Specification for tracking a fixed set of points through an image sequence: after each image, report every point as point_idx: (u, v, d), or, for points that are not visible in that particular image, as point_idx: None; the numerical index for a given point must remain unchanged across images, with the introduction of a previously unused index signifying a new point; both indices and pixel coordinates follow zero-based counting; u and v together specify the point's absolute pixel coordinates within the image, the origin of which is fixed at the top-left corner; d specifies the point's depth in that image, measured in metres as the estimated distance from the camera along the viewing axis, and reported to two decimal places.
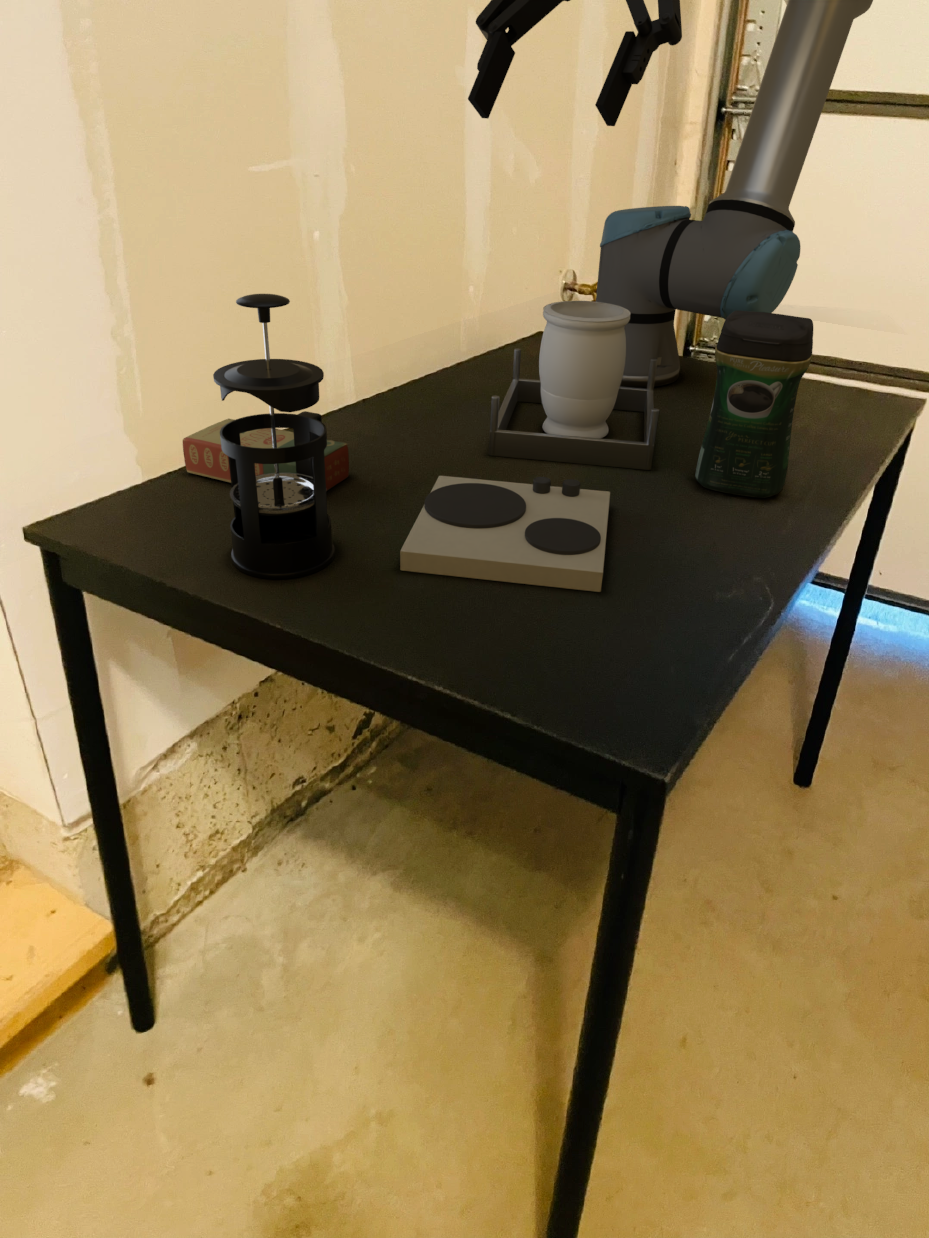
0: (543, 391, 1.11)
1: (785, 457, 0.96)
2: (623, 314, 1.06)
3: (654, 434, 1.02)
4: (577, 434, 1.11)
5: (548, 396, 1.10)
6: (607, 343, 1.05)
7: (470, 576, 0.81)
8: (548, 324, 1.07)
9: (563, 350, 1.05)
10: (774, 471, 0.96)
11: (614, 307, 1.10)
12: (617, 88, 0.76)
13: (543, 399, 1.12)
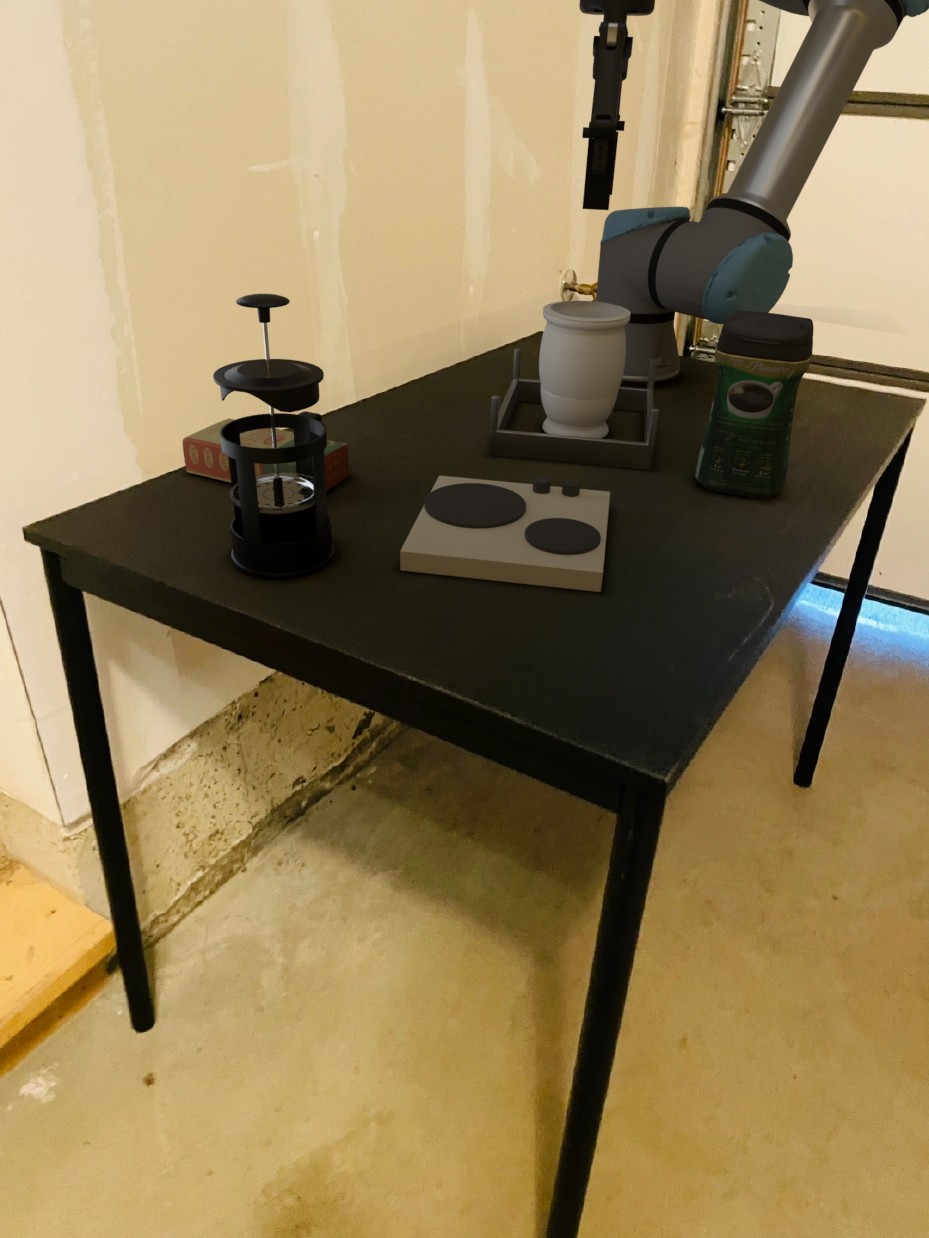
0: (543, 391, 1.11)
1: (785, 457, 0.96)
2: (623, 314, 1.06)
3: (654, 434, 1.02)
4: (577, 434, 1.11)
5: (548, 396, 1.10)
6: (607, 343, 1.05)
7: (470, 576, 0.81)
8: (548, 324, 1.07)
9: (563, 350, 1.05)
10: (774, 471, 0.96)
11: (614, 307, 1.10)
12: (594, 186, 0.94)
13: (543, 399, 1.12)
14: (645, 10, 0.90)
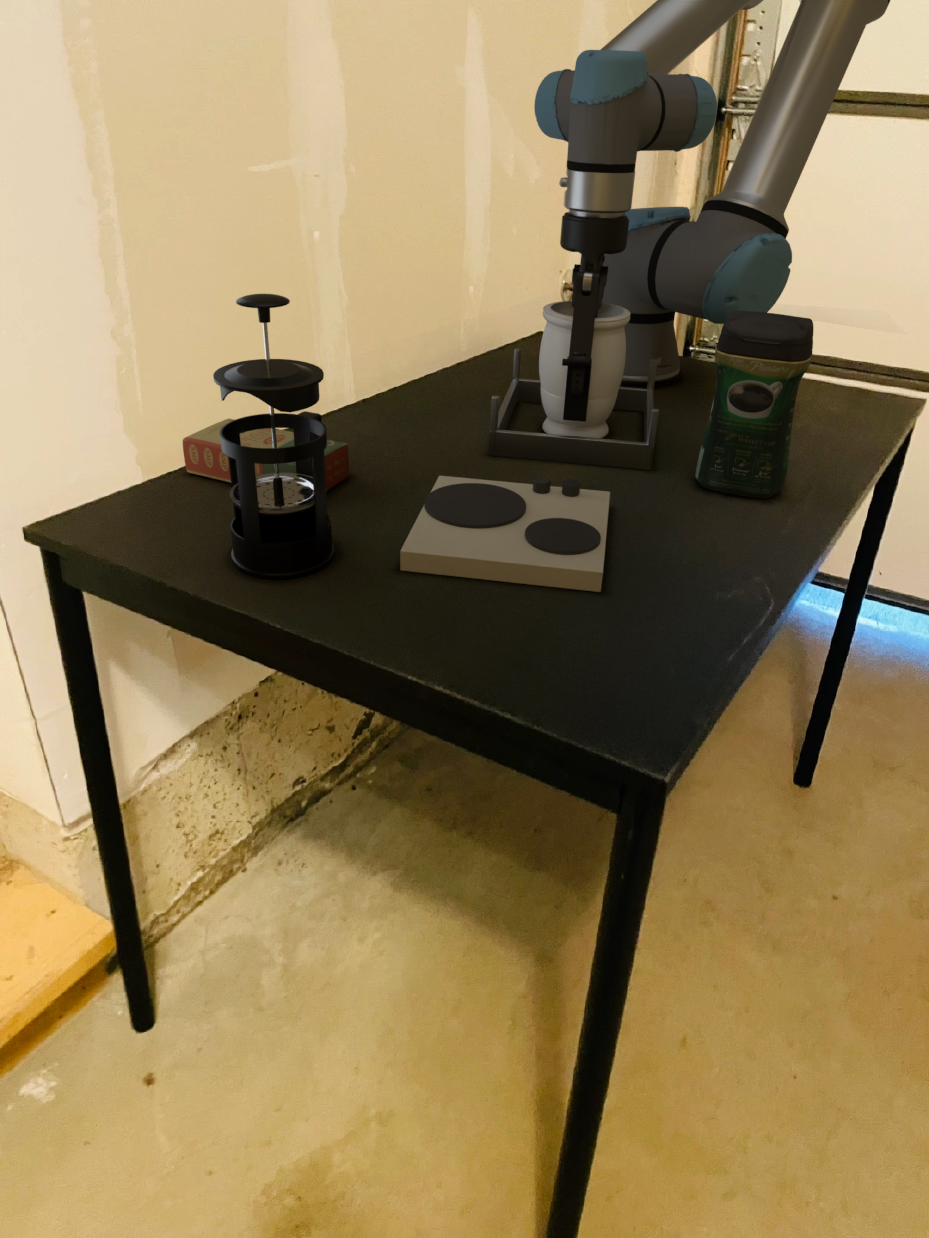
0: (543, 391, 1.11)
1: (785, 457, 0.96)
2: (623, 314, 1.06)
3: (654, 434, 1.02)
4: (577, 434, 1.11)
5: (548, 396, 1.10)
6: (607, 343, 1.05)
7: (470, 576, 0.81)
8: (548, 324, 1.07)
9: (563, 350, 1.05)
10: (774, 471, 0.96)
11: (614, 307, 1.10)
12: (572, 402, 1.07)
13: (543, 399, 1.12)
14: (617, 251, 1.01)
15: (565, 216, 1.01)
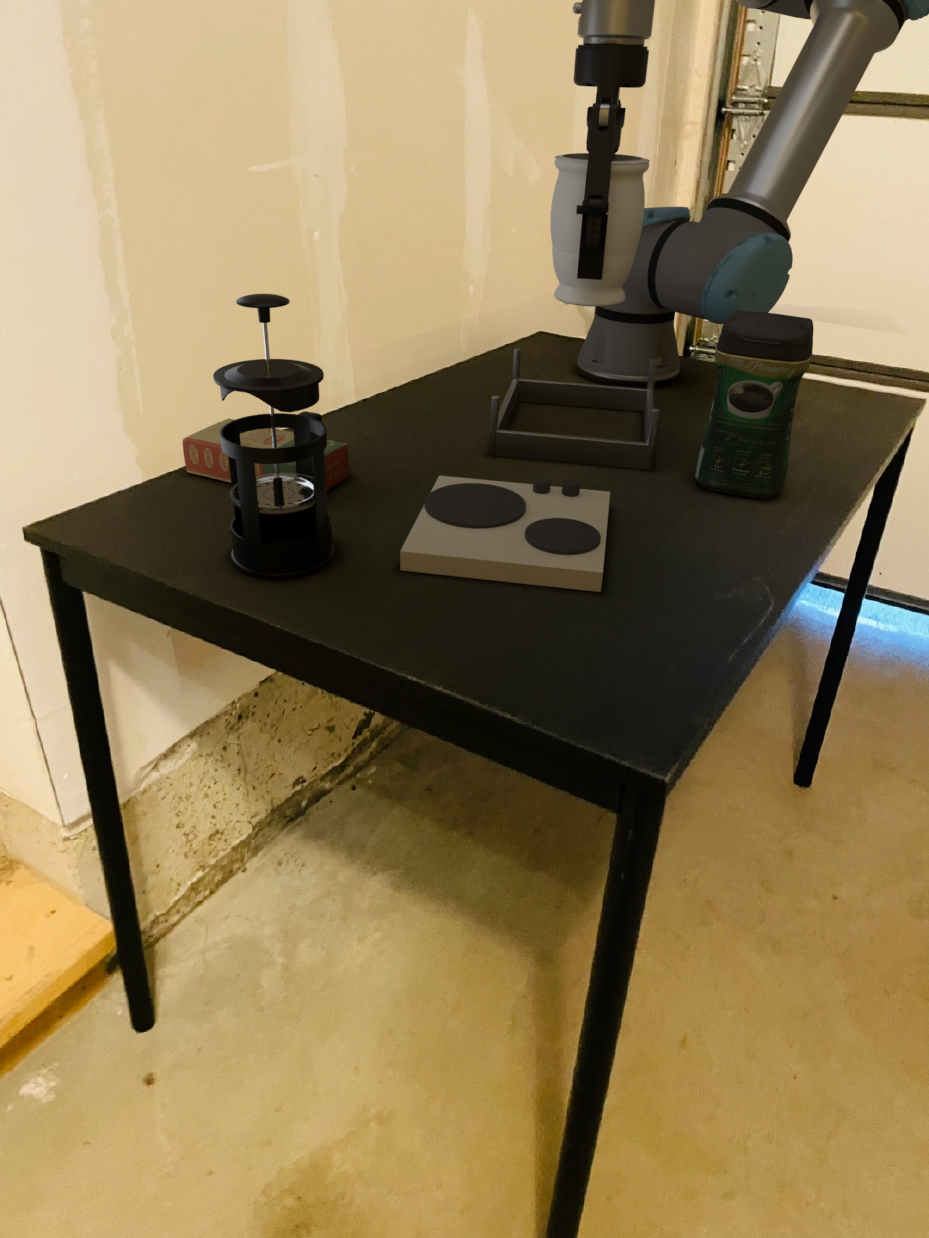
0: (555, 251, 1.03)
1: (785, 457, 0.96)
2: (642, 160, 0.97)
3: (654, 434, 1.02)
4: (592, 298, 1.03)
5: (560, 255, 1.02)
6: (625, 191, 0.97)
7: (470, 576, 0.81)
8: (560, 173, 0.99)
9: (577, 200, 0.97)
10: (774, 471, 0.96)
11: (631, 159, 1.02)
12: (587, 258, 0.99)
13: (554, 261, 1.03)
14: (636, 85, 0.93)
15: (579, 46, 0.93)
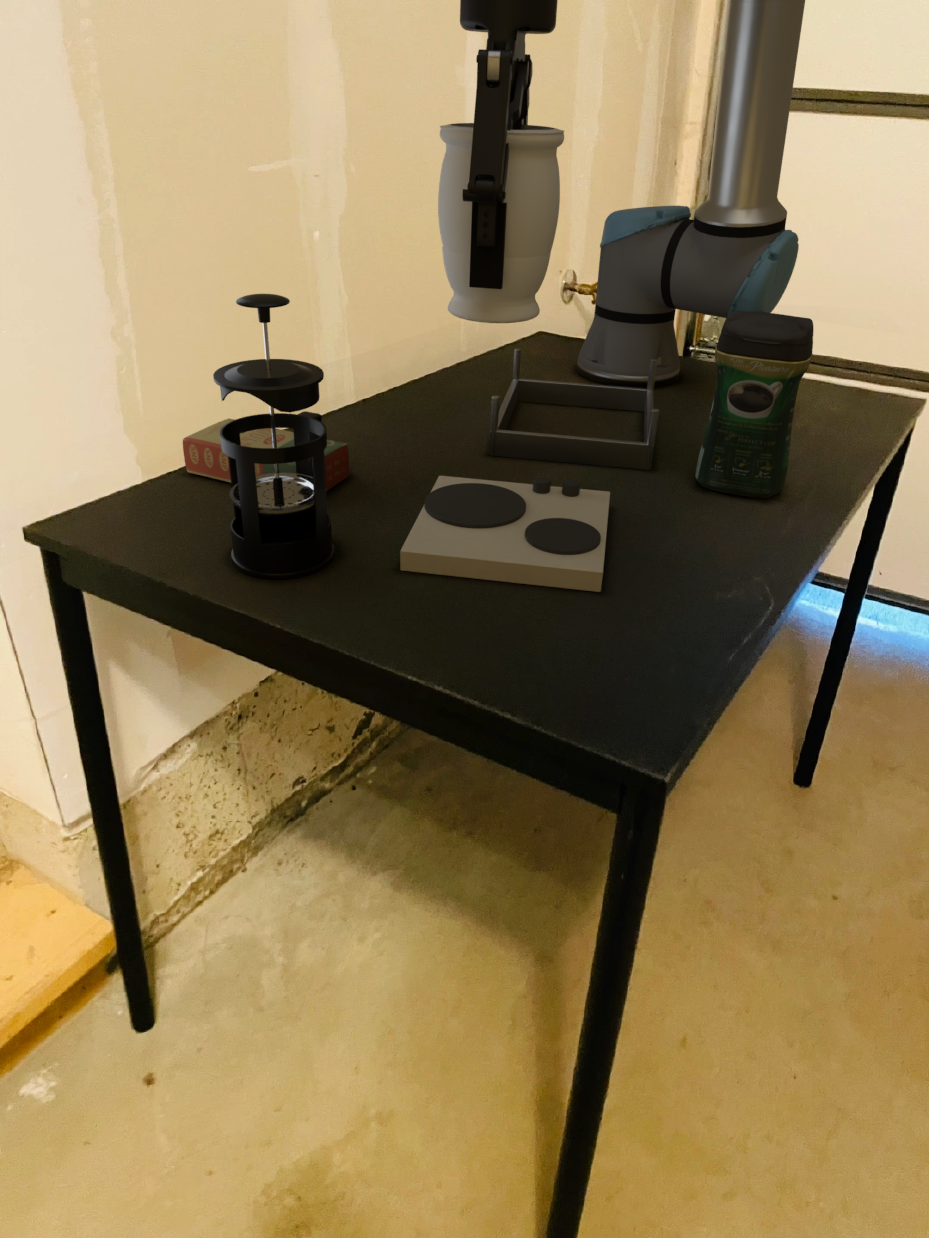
0: (444, 250, 0.78)
1: (785, 457, 0.96)
2: (553, 130, 0.73)
3: (654, 434, 1.02)
4: (492, 312, 0.79)
5: (449, 256, 0.78)
6: (530, 170, 0.72)
7: (470, 576, 0.81)
8: (447, 147, 0.75)
9: (466, 181, 0.73)
10: (774, 471, 0.96)
11: None
12: (482, 260, 0.75)
13: (444, 263, 0.79)
14: (541, 27, 0.69)
15: None
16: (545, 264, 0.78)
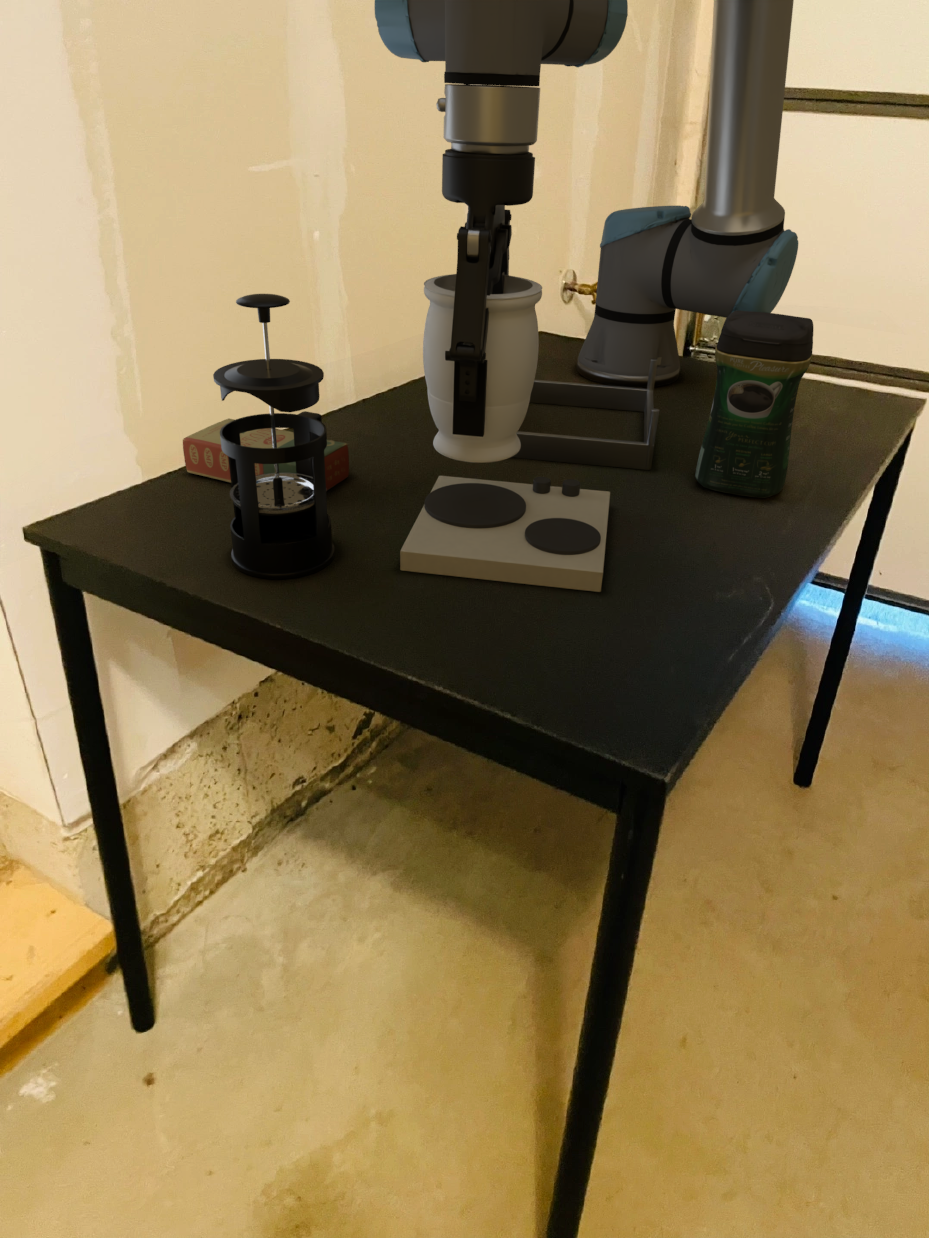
0: (429, 395, 0.82)
1: (785, 457, 0.96)
2: (531, 290, 0.77)
3: (654, 434, 1.02)
4: (475, 453, 0.83)
5: (434, 401, 0.82)
6: (509, 329, 0.76)
7: (470, 576, 0.81)
8: (430, 304, 0.79)
9: (448, 339, 0.77)
10: (774, 471, 0.96)
11: (524, 282, 0.82)
12: (464, 411, 0.79)
13: (429, 405, 0.83)
14: (518, 202, 0.73)
15: (446, 152, 0.73)
16: (525, 407, 0.82)
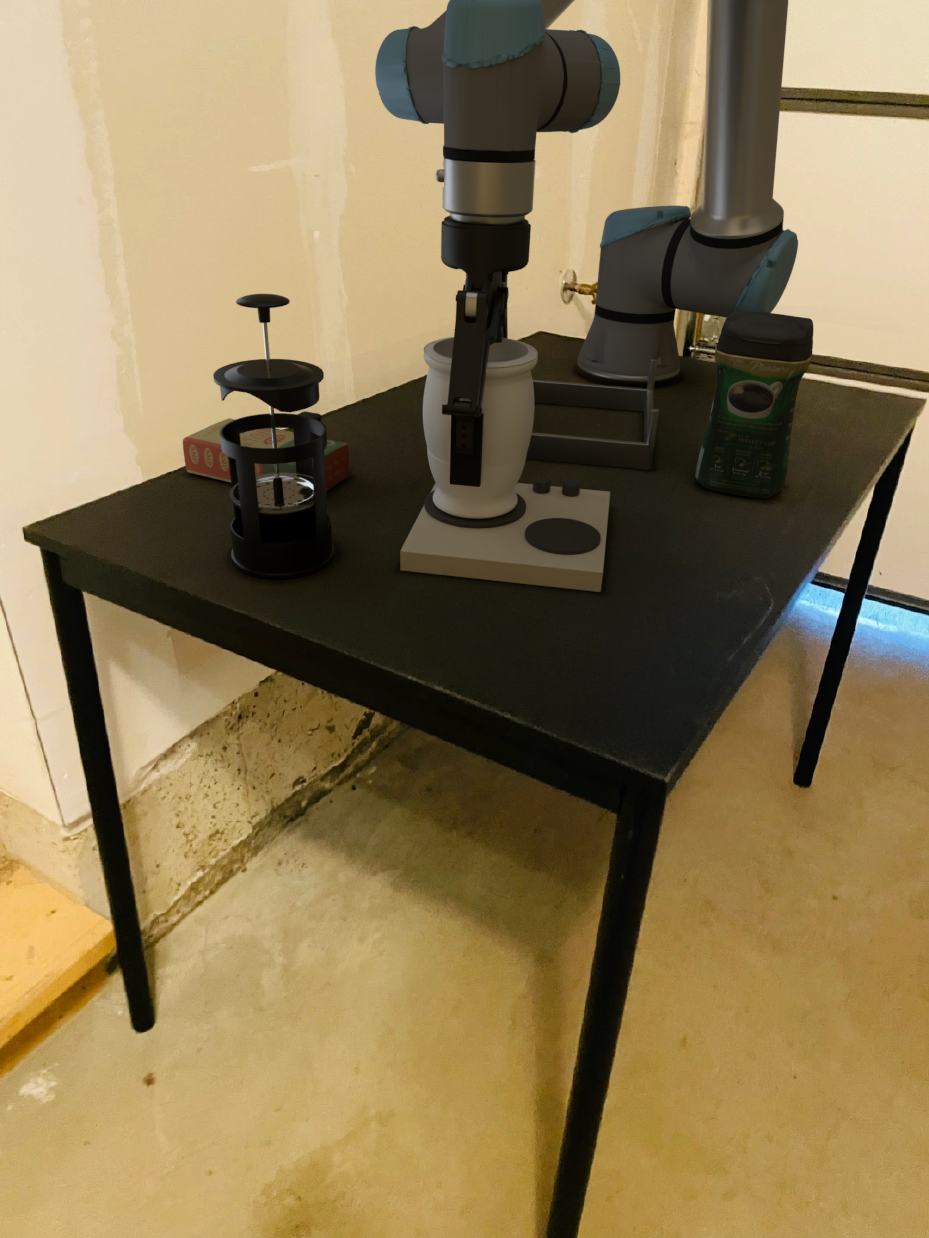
0: (429, 453, 0.85)
1: (785, 457, 0.96)
2: (527, 356, 0.80)
3: (654, 434, 1.02)
4: (473, 510, 0.85)
5: (433, 460, 0.84)
6: (505, 395, 0.79)
7: (470, 576, 0.81)
8: (430, 368, 0.82)
9: None
10: (774, 471, 0.96)
11: (520, 345, 0.85)
12: (461, 462, 0.80)
13: (429, 463, 0.86)
14: (514, 269, 0.76)
15: (444, 221, 0.75)
16: (521, 465, 0.85)
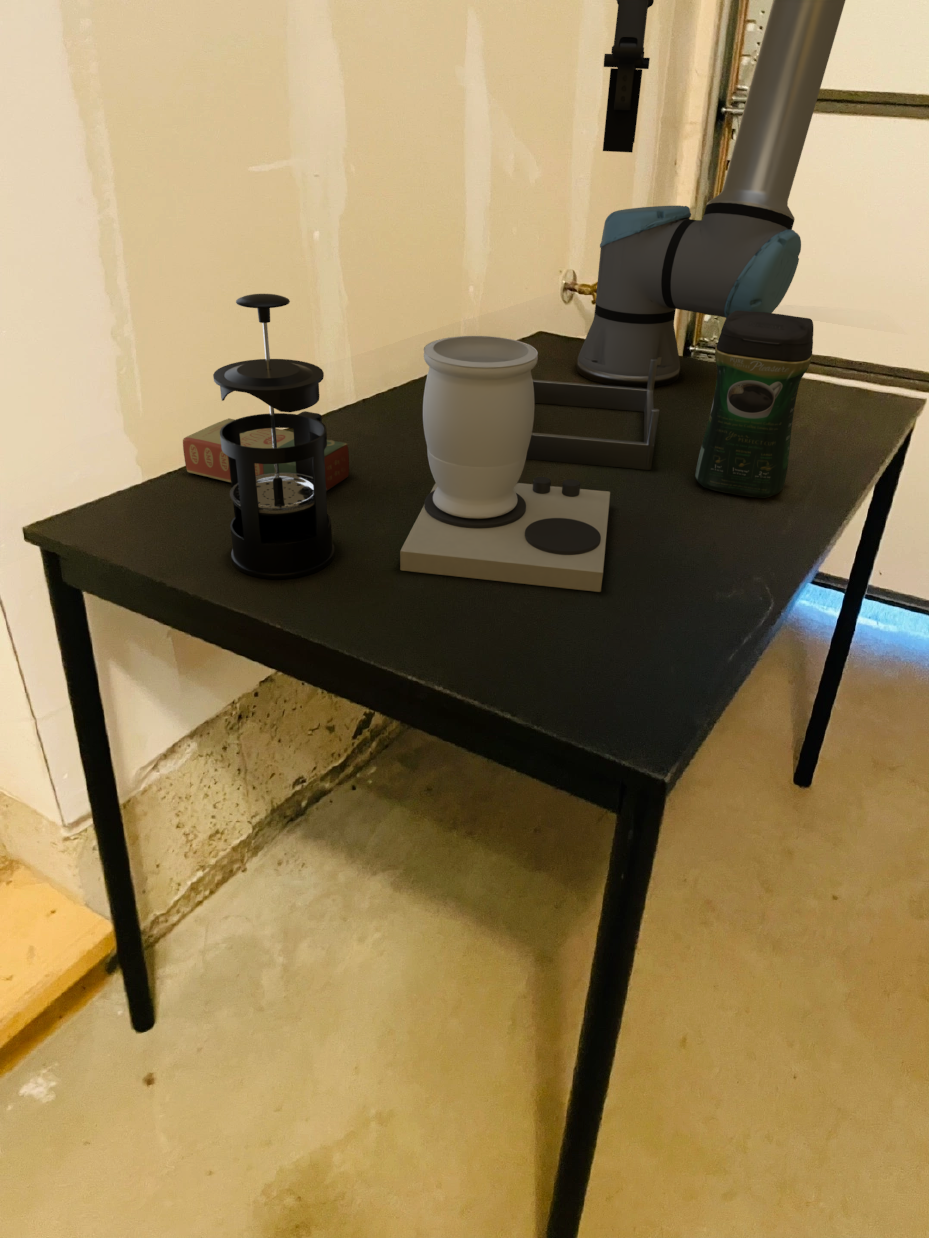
0: (429, 453, 0.85)
1: (785, 457, 0.96)
2: (527, 356, 0.80)
3: (654, 434, 1.02)
4: (473, 510, 0.85)
5: (433, 460, 0.84)
6: (505, 395, 0.79)
7: (470, 576, 0.81)
8: (430, 368, 0.82)
9: (447, 404, 0.80)
10: (774, 471, 0.96)
11: (520, 345, 0.85)
12: (616, 124, 0.82)
13: (429, 463, 0.86)
14: None
15: None
16: (521, 465, 0.85)
